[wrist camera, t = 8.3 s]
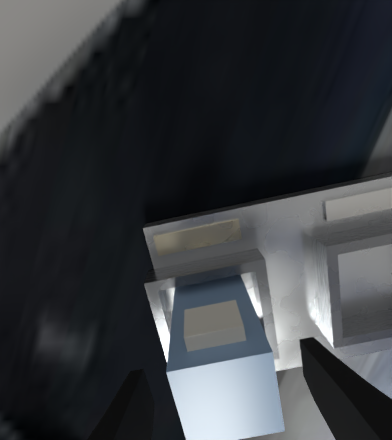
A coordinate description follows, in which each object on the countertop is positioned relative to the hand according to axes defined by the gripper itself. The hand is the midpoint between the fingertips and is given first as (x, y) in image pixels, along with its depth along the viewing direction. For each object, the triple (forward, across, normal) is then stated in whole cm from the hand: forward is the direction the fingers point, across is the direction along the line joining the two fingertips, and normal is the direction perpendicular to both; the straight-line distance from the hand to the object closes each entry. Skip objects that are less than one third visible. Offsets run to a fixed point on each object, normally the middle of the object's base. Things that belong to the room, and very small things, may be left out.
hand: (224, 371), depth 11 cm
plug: (+5, 0, 0) cm, 5 cm away
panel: (+6, -5, 0) cm, 8 cm away
